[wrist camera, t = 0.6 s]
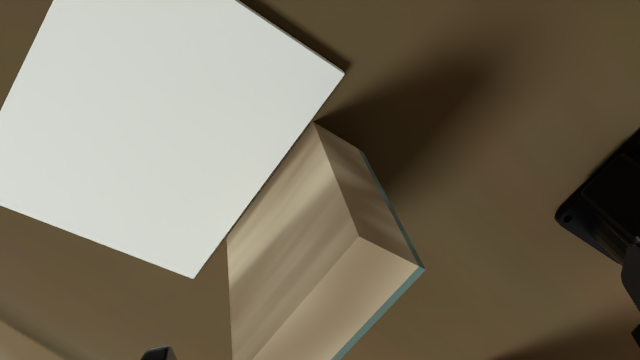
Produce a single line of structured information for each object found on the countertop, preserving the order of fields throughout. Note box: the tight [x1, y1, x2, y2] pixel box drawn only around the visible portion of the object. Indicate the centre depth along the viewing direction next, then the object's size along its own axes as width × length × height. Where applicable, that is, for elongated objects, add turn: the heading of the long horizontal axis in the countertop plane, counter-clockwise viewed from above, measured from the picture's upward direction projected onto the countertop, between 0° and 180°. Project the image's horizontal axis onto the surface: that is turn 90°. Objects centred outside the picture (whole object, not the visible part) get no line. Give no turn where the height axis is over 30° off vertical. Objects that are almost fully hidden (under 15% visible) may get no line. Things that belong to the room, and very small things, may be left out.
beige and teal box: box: [227, 122, 426, 360], centre depth 20 cm, size 3×7×8 cm, turn 144°
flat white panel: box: [0, 0, 345, 279], centre depth 20 cm, size 10×12×1 cm
